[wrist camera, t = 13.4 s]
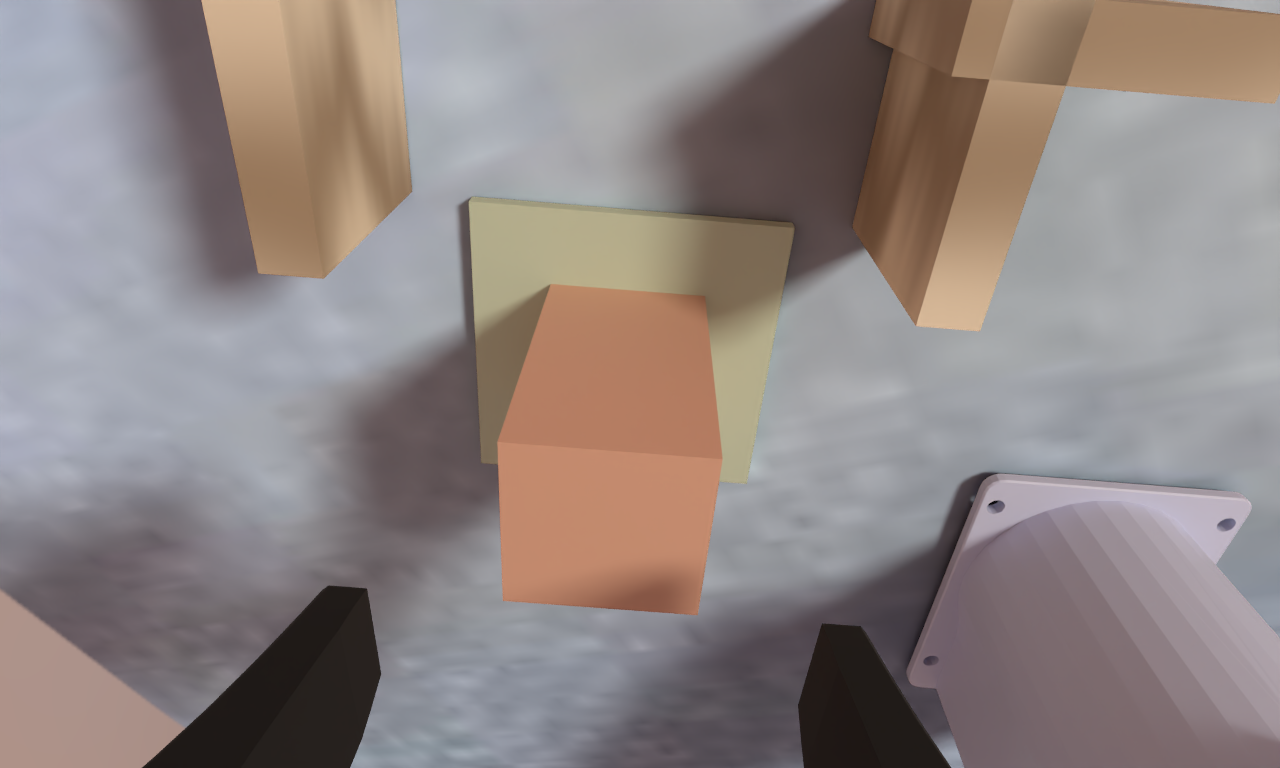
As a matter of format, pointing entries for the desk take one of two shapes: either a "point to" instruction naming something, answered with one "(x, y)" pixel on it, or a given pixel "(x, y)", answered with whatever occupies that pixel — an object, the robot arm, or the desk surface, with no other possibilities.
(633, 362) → the terracotta block
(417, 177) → the desk surface
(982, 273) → the wooden channel
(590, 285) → the sage mat
